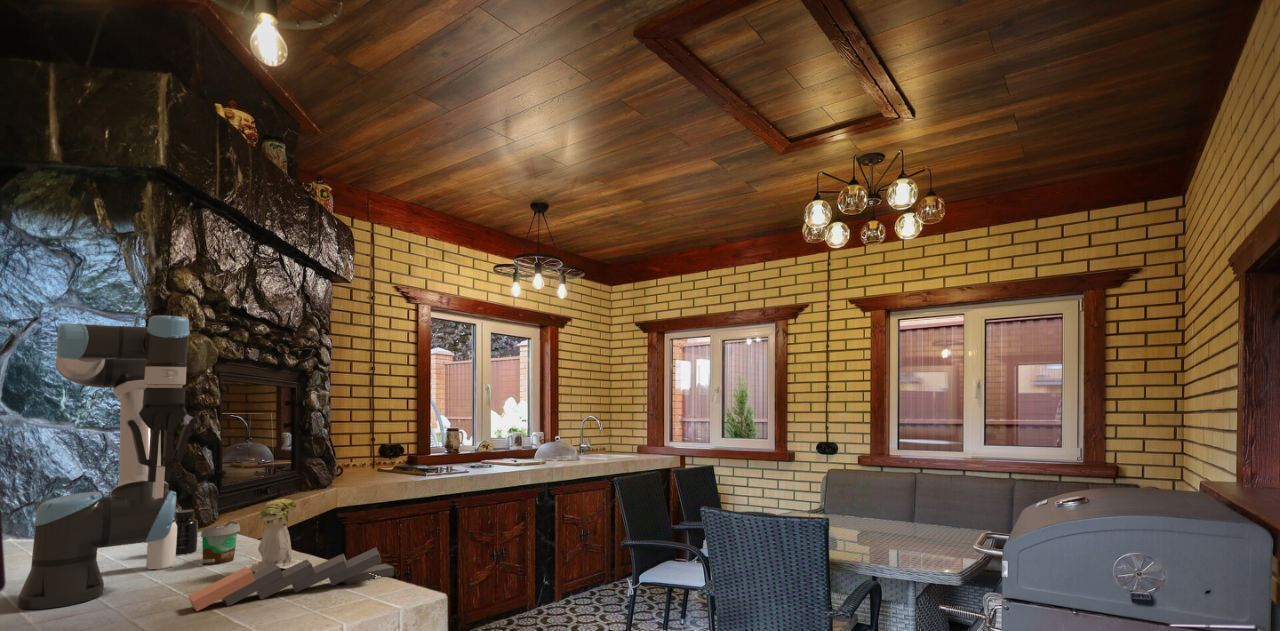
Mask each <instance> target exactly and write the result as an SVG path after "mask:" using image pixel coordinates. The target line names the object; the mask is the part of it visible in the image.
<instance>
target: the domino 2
mask: <svg viewBox="0 0 1280 631" xmlns="http://www.w3.org/2000/svg"><path fill="white" fill-rule="evenodd" d="M281 569H282V568H280V567H278V566H277V565H275V564H271V565H269V566H267V567H265V568H263V569H261V570H260V571H258V572H256V573H255V572H253V576H254V578H255V581H254V582H252V583H250V584H248V585H246V586H244V587H243V588H241V589H239V590H237V591H235V592H233V593H231V594H229V595H227V596H226V597H224V598H222V599H221V601H223V602H222V603H224V604H225V605H226V606H227V607H230V606H232V605H234V604H235V603H238V602H240V601H241V600H243V599H245V598H247V597H249V596H250V595H252V594H254V593H256V591H258V590H260V589H262V588H263V587H265V586H267V585H269V584H271V583H273V582H275V581H276V580H278V579H280V578H282V577H283V574H282V570H281ZM229 605H230V606H229Z"/></svg>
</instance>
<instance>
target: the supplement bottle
mask: <svg viewBox="0 0 1280 631" xmlns="http://www.w3.org/2000/svg"><path fill="white" fill-rule="evenodd" d="M195 513H196V511H195V509H181V510H178V511H175V512H174V520H176V525H177V541H176V554H185V555H188V554H187V553H190V554H193V553H195V552H196V551H197V548H198V534H199V533H198V532H199V531H198V529H199V522H198V520H197V519H195V516H196V514H195ZM192 552H193V553H192Z"/></svg>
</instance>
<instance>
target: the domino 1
mask: <svg viewBox="0 0 1280 631" xmlns="http://www.w3.org/2000/svg"><path fill="white" fill-rule="evenodd" d="M253 574H254V572H253V573H252V571H251V570H250V568H248V567H247V566H244V567H242V568H240V569H238V570H236V571H235V572H233V573H231V574H228V575H227V576H224V577H223V578H221V579H219V580H217V581H215V582H213V583H212V584H209V585H207V586H206V587H204V588H201V589H199V590H198V591H195V592H194V593H193V592H192V593H191V594H189V595H188V600H189V603H190V605H191V606H192V607H193V609H194V610H195V611H196V612H199V611H201V610H203V609H205V608H206V607H209V606H210V605H212V604H214V603H216V602H218V601H220V600H222V598H224V597H226V596H227V595H229V594H231V593H233V592H235V591H237V590H239V589H241V588H243V587H244V586H246V585H248V584H250V583H252V582H254V581H255V578H254V576H253Z"/></svg>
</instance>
